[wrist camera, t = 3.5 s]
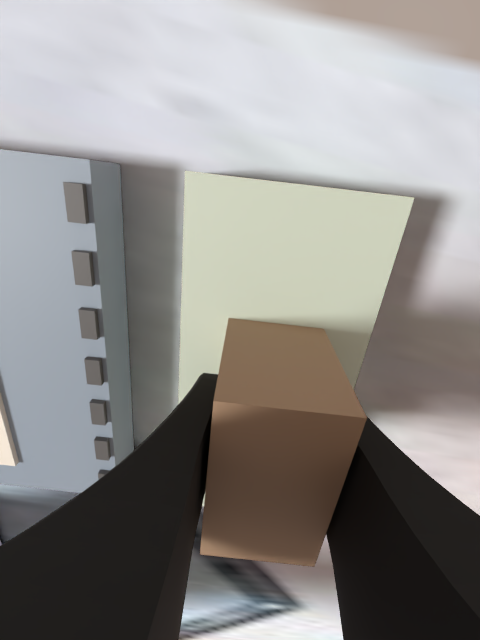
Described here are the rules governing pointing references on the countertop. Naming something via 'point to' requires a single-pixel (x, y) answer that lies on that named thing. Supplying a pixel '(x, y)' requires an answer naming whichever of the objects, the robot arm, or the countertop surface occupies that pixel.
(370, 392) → the countertop surface
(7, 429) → the board
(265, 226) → the stub
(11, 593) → the robot arm
